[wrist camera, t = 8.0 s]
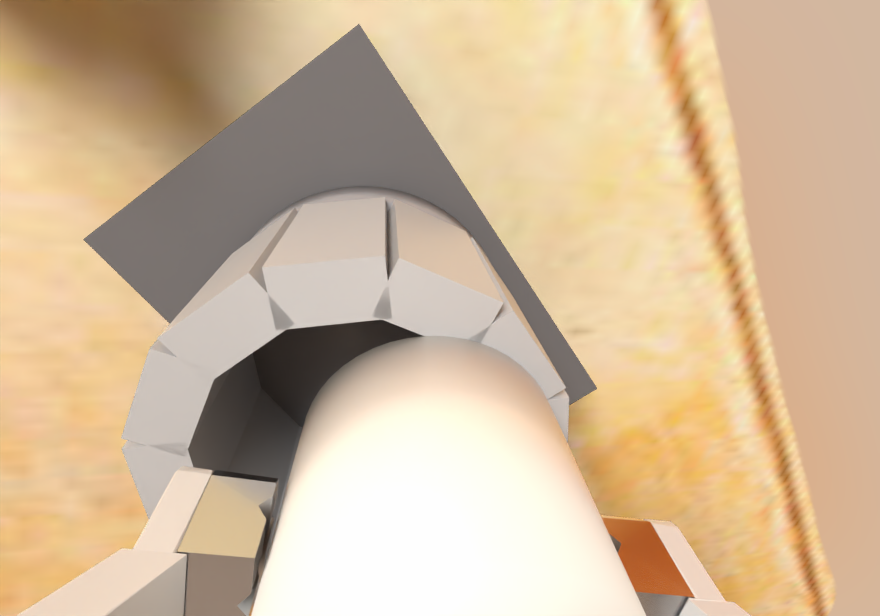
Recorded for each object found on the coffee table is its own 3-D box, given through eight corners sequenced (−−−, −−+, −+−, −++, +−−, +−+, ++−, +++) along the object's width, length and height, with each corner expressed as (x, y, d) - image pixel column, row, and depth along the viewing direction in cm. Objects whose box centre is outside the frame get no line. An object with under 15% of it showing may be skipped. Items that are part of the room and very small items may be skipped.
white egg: (595, 474, 11) (724, 738, 7) (393, 574, 12) (389, 871, 8) (477, 286, 10) (549, 480, 5) (246, 420, 10) (124, 695, 6)
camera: (550, 319, 25) (703, 543, 13) (376, 429, 26) (369, 721, 14) (366, 39, 19) (335, -25, 7) (162, 197, 21) (-132, 352, 9)
